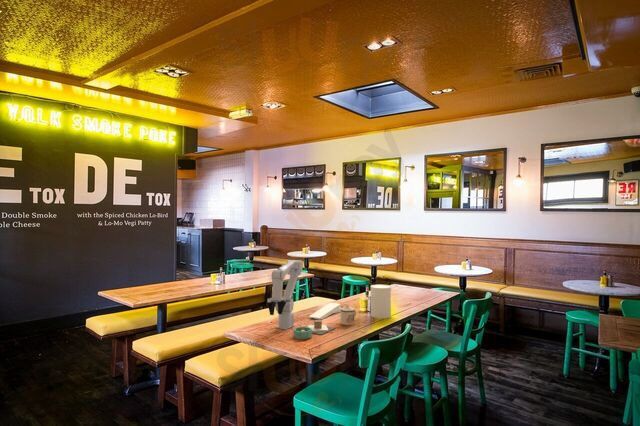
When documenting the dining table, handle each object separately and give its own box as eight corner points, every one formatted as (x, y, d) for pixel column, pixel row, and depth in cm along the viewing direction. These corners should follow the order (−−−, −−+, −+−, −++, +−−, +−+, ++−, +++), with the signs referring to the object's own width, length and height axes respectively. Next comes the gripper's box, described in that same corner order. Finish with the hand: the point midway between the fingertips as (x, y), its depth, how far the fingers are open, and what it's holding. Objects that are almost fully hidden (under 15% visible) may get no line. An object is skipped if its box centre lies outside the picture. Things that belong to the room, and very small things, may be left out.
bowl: (301, 332, 224) (301, 325, 224) (315, 335, 219) (315, 328, 219) (290, 337, 216) (290, 330, 216) (304, 340, 210) (304, 333, 210)
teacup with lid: (347, 326, 237) (347, 307, 237) (337, 323, 243) (337, 304, 244) (360, 322, 245) (360, 304, 245) (350, 319, 252) (350, 301, 252)
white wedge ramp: (320, 329, 251) (341, 314, 275) (321, 318, 250) (342, 304, 273) (307, 323, 256) (329, 308, 280) (309, 313, 255) (330, 299, 278)
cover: (307, 326, 234) (307, 318, 234) (325, 325, 236) (325, 317, 236) (309, 332, 224) (309, 323, 224) (328, 331, 225) (328, 322, 225)
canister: (376, 319, 253) (376, 288, 253) (367, 314, 266) (367, 285, 266) (394, 317, 257) (394, 287, 257) (385, 312, 270) (384, 283, 270)
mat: (314, 324, 240) (314, 323, 240) (335, 328, 232) (335, 327, 232) (300, 330, 228) (300, 329, 228) (321, 335, 219) (321, 334, 219)
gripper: (279, 290, 234) (278, 313, 232) (264, 290, 222) (262, 314, 220) (288, 290, 230) (287, 314, 228) (273, 291, 218) (272, 315, 216)
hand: (275, 314), depth 224 cm, fingers open, 7 cm apart
